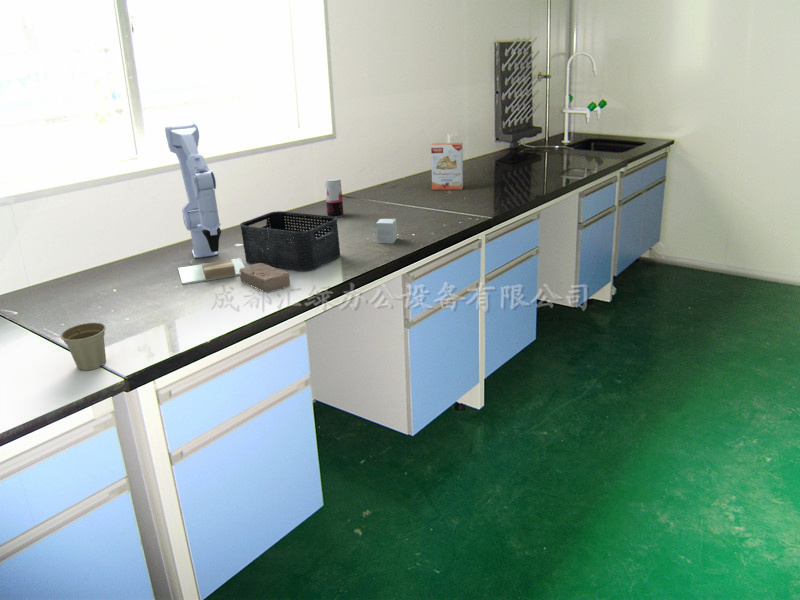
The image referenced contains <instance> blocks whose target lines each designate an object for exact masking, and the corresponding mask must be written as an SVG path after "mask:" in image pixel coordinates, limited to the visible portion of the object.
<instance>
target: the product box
mask: <svg viewBox="0 0 800 600" xmlns="http://www.w3.org/2000/svg"><path fill="white" fill-rule="evenodd" d="M375 225H376V227H375V228H376V243H377V244H395V242H396V240H397V239H398V233H397V232H398V231H397V230H398V229H397V218H379V219H378V220H377V222H376V223H375Z"/></svg>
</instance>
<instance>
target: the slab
mask: <svg viewBox="0 0 800 600" xmlns="http://www.w3.org/2000/svg"><path fill="white" fill-rule="evenodd" d="M201 264H202V267H203V273H204V276H205V278H206V280H207V279H213V278H219V277H225V276H231V275H236V274H235V268H234V264H233V262H232V261H231V259H224V260H219V261H213V262H207V263H205V262H204V263H201Z"/></svg>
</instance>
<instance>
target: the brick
mask: <svg viewBox="0 0 800 600" xmlns="http://www.w3.org/2000/svg"><path fill="white" fill-rule="evenodd" d="M240 273H241V274H240V275H239V278H240V281H241V282H242V283H244V282H245V283H244V284H247V283H248V284H247V285H248V286H251V285H252V286H251V287H253V286H254V287H253V288H255V287H256V288H255V289H257V288H258V290H260V289H261V290H260V291H262V290H263V291H262V292H266V293H268V292H275V291H277V290H283V289H284V288H286V287H290V286H291V279H290V274H289V272H288V271H285V270H284V269H283V270H282V269H278V268H276V267H271V266H269V265H266V264H263V263H258V264H250V265H248V266H245V267H244V268H241V269H240Z"/></svg>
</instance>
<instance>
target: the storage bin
mask: <svg viewBox="0 0 800 600" xmlns="http://www.w3.org/2000/svg"><path fill="white" fill-rule="evenodd" d="M262 221H265V225H263V226H261V227H259V226H251V225H254V224H255V225H256V223H260V222H262ZM338 228H339V227H338V217H333V216H328V215H322V214H314V213H313V214H312V213H304V212H303V213H302V212H292V211H284V210H283V211H282V210H281V211H271V212H267V213H265V214H262V215H260V216H256V217H254V218H251V219H249V220H246V221H243V222H241V223H240V229H241V236H242V237H241V238H242V244H243V249H244V250H243V251H244V252H243V253H244V258H245V263H247V264H251V265H253V264H258V263H263V264H266V265H269V266H271V267H274V268H275V269H281V270H282V269H283V270H290V271H296V272H310V271H313V270H314V271H315V270H317V269H318V268H320V267H322V266H324V265H327V264H328V263H330V262H332V261H334V260H336V259H339V257H341V248H340V239H339V229H338Z"/></svg>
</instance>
